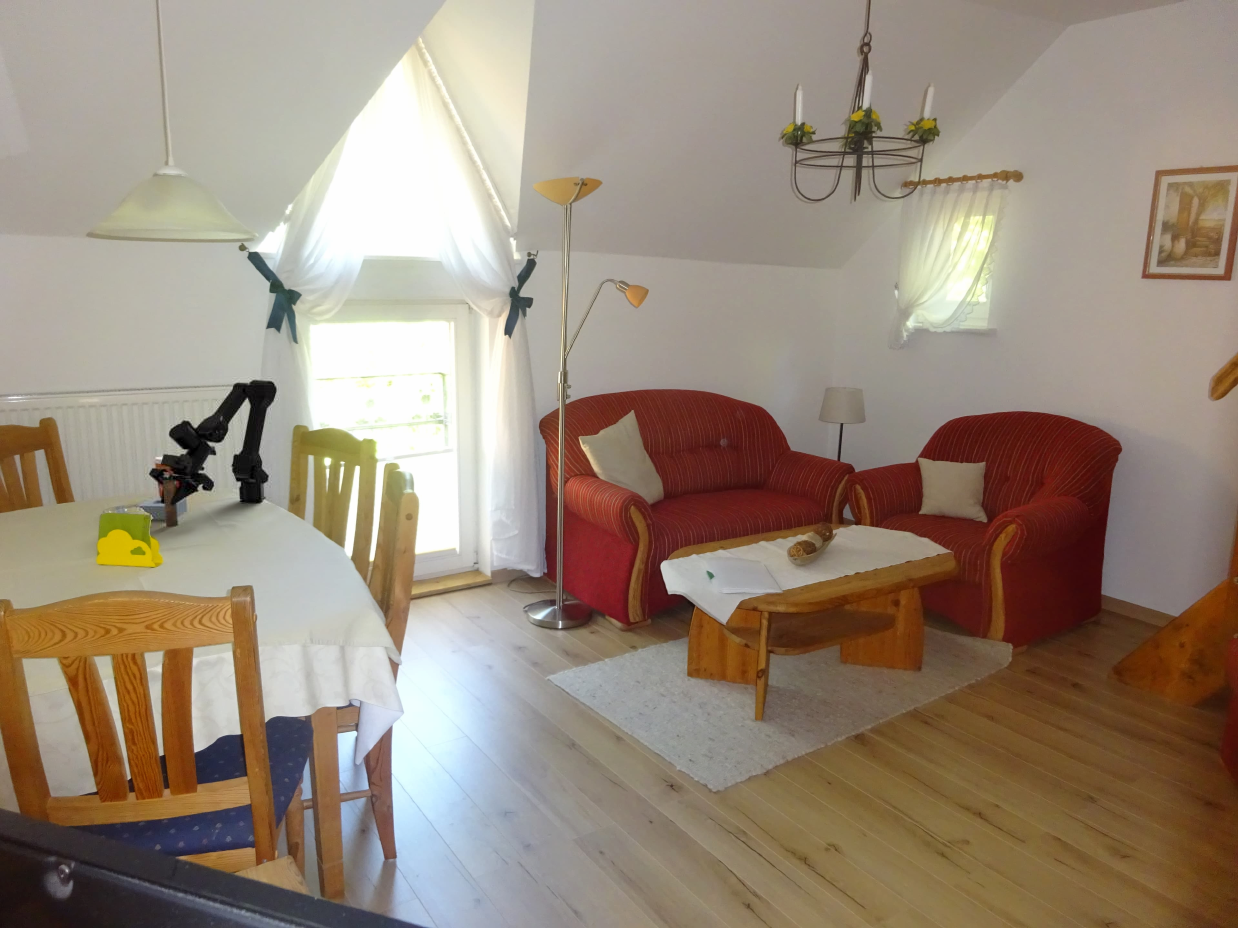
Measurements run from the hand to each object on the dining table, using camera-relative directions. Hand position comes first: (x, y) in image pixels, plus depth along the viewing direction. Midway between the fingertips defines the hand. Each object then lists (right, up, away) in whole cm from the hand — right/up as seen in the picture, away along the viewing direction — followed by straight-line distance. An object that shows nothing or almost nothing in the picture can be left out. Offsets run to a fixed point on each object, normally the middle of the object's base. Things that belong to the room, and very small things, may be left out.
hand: (166, 503), depth 239 cm
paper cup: (-15, 0, +30) cm, 33 cm away
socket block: (-8, -4, +13) cm, 15 cm away
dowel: (0, -6, +3) cm, 7 cm away
